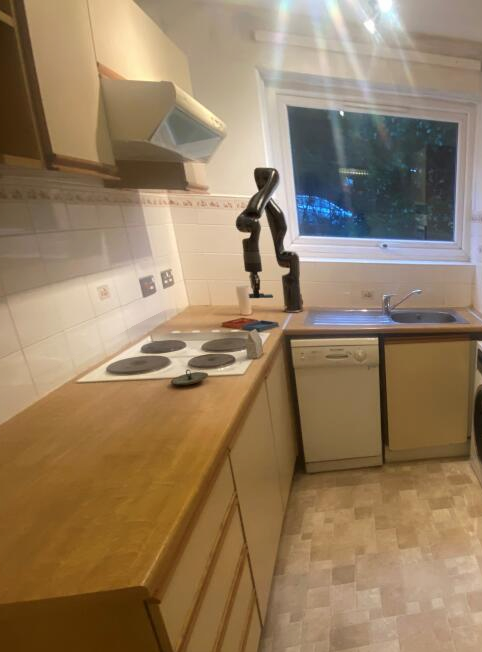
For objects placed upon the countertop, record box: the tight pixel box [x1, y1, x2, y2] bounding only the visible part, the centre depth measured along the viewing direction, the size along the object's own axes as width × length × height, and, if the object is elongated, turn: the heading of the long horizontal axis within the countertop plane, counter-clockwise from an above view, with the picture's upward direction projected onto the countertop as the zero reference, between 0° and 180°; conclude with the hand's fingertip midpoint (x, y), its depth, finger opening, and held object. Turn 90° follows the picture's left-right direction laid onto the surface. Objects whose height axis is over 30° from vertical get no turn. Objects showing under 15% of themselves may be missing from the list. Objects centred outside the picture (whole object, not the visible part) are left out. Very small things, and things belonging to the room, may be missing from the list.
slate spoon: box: [249, 292, 274, 299], centre depth 214 cm, size 10×3×2 cm, turn 125°
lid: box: [170, 369, 209, 386], centre depth 139 cm, size 11×10×5 cm
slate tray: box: [241, 319, 279, 333], centre depth 211 cm, size 13×10×2 cm
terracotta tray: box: [221, 317, 259, 330], centre depth 214 cm, size 13×10×2 cm
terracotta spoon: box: [231, 319, 251, 324], centre depth 214 cm, size 10×3×2 cm, turn 163°
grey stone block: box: [244, 329, 264, 359], centre depth 168 cm, size 4×7×10 cm, turn 5°
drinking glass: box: [235, 285, 253, 316], centre depth 234 cm, size 7×7×15 cm
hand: (256, 297), depth 213 cm, fingers closed on slate spoon, 2 cm apart
